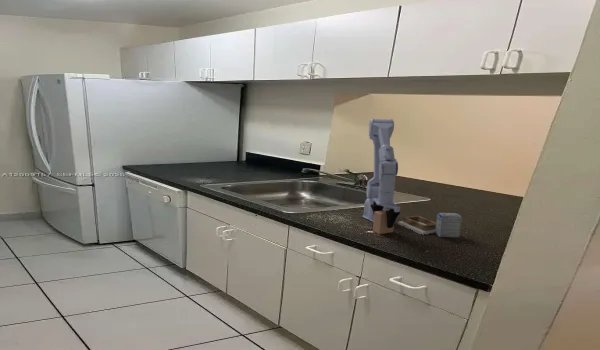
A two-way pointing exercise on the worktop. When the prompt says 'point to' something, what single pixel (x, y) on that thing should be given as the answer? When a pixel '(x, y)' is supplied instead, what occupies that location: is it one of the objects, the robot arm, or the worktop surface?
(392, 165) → the robot arm
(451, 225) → the medicine box
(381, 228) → the key block
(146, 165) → the worktop surface
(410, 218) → the cradle
